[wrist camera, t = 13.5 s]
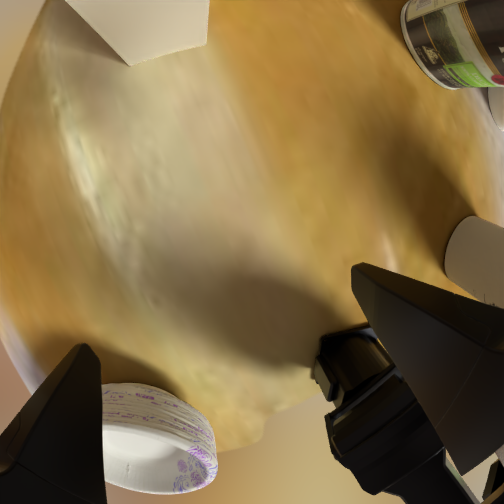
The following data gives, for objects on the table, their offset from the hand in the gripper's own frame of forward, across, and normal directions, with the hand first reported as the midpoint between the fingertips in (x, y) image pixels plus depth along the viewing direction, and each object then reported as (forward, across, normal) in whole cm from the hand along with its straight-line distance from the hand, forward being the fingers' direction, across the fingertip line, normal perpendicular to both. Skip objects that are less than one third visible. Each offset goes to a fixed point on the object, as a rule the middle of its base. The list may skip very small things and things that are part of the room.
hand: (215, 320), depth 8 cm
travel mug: (+12, -26, +12) cm, 31 cm away
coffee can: (+14, -25, -10) cm, 31 cm away
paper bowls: (+11, +13, +19) cm, 26 cm away
